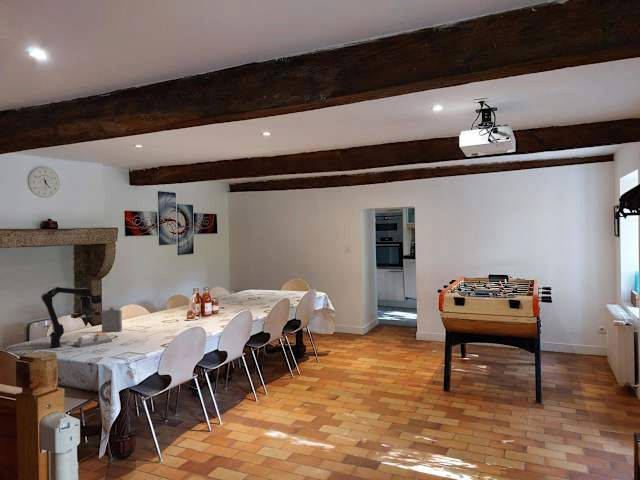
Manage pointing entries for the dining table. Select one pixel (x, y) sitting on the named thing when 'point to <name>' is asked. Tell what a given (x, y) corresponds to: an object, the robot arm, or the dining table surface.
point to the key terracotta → (100, 334)
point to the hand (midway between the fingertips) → (86, 325)
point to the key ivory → (85, 337)
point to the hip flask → (111, 320)
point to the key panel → (92, 341)
